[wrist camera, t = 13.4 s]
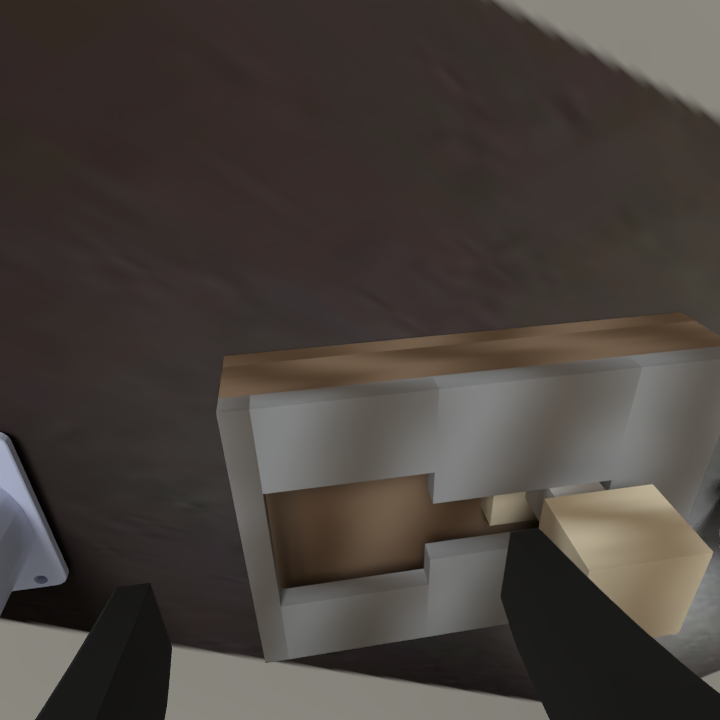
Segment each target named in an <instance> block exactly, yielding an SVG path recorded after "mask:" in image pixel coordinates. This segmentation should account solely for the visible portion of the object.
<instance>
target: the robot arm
mask: <svg viewBox="0 0 720 720" xmlns="http://www.w3.org/2000/svg"><path fill="white" fill-rule="evenodd" d="M68 574H69V570H68V567H67V565H66V563H65V561H64V558H63V556H62V554H61V552H60V549H59V547H58V545H57V543H56V540H55V538H54V536H53V534H52V531H51V529H50V527H49V525H48V522H47V520H46V518H45V516H44V513H43V511H42V509H41V507H40V504H39V502H38V500H37V498H36V495H35V493H34V491H33V489H32V486H31V484H30V482H29V480H28V477H27V475H26V473H25V471H24V468H23V466H22V464H21V462H20V459H19V457H18V455H17V453H16V450H15V448H14V446H13V444H12V441H11V440H10V438H9V437H8V436H7V435H5V434H4V433H1V432H0V615H1V613H2V611H3V609H4V607H5V605H6V602H7V600H8V598H9V596H10V594H11V592H12V591H18V590H25V589H32V588H39V587H46V586H54V585H59V584H62V583H63V582H65V581H66V579H67V576H68ZM500 597H501V600H502V603H503V607H504V610H505V613H506V616H507V619H508V622H509V625H510V628H511V631H512V634H513V637H514V640H515V643H516V646H517V648H518V651H519V653H520V655H521V657H522V660H523V662H524V664H525V666H526V669H527V671H528V673H529V675H530V677H531V680H532V682H533V684H534V686H535V689H536V691H537V693H538V695H539V697H540V699H541V702H542V704H543V706H544V708H545V710H546V713H547V714H548V717H549V719H550V720H720V693H718V692H717V691H716V690H714V689H713V688H712V687H711V686H709V685H708V684H707V683H706V682H704V681H703V680H702V679H701V678H699V677H698V676H697V675H696V674H695V673H693V672H692V671H691V670H690V669H689V668H687V667H686V666H685V665H684V664H682V663H681V662H680V661H679V660H678V659H677V658H675V657H674V656H673V655H672V654H671V653H670V652H668V651H667V650H666V649H665V648H664V647H663V646H662V645H660V644H659V643H658V642H657V641H656V640H655V639H653V638H652V637H651V636H650V635H649V634H648V633H647V632H646V631H645V630H643V629H642V628H641V627H640V626H639V625H638V624H637V623H636V622H635V621H634V620H632V619H631V618H630V617H629V616H628V615H627V614H626V613H625V612H624V611H623V610H622V609H621V608H620V607H618V606H617V605H616V604H615V603H614V602H613V601H612V600H611V599H610V598H609V597H608V596H607V595H606V594H605V593H604V592H603V591H602V590H601V589H599V588H598V587H597V586H596V585H595V584H594V583H593V582H592V581H591V580H590V579H589V578H588V577H587V576H586V575H585V574H584V573H583V572H582V571H581V570H580V569H579V568H578V567H577V566H576V565H575V564H574V563H573V562H572V561H571V560H570V559H569V558H568V557H567V556H566V555H565V554H564V553H563V552H562V551H561V550H560V549H559V548H558V547H557V546H556V545H555V544H554V543H553V542H552V541H551V540H550V539H549V537H548V536H547V535H546V534H545V533H544V532H543V531H541V530H540V529H539V528H536V529H529V530H522V531H515V532H510V538H509V544H508V551H507V557H506V564H505V570H504V576H503V583H502V589H501V596H500ZM171 653H172V646H171V643H170V640H169V637H168V634H167V631H166V628H165V625H164V623H163V620H162V617H161V614H160V611H159V608H158V605H157V602H156V599H155V596H154V593H153V590H152V587H151V584H150V583H146V584H139V585H132V586H125V587H118V588H116V589H115V590H114V591H113V592H112V594H111V596H110V598H109V600H108V601H107V603H106V605H105V607H104V608H103V610H102V612H101V614H100V615H99V617H98V619H97V621H96V622H95V624H94V626H93V628H92V629H91V631H90V633H89V634H88V636H87V638H86V639H85V641H84V643H83V644H82V646H81V648H80V649H79V651H78V653H77V654H76V656H75V658H74V659H73V661H72V663H71V664H70V666H69V668H68V669H67V671H66V672H65V674H64V675H63V677H62V679H61V680H60V682H59V683H58V685H57V687H56V688H55V690H54V691H53V693H52V694H51V696H50V698H49V699H48V701H47V702H46V704H45V706H44V707H43V708H42V710H41V712H40V713H39V715H38V716H37V718H36V719H35V720H164V719H165V713H166V707H167V699H168V689H169V678H170V666H171Z"/></svg>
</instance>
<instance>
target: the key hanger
mask: <svg viewBox="0 0 720 720" xmlns="http://www.w3.org/2000/svg"><path fill="white" fill-rule="evenodd" d="M481 508H482V510H483V512H484V514H485V516H486V518H487V520H488V523H489V525H490V526H492V525H500V524H507V523H514V522H521V521H528V520H536V519H538V521H539V522H540V523H539V529H540V530H541V531H543V532H544V533H545V534H546V535H547V536H548V537H549V539H550V540H551V541H552V542H553V543H554V544H555V545H556V546H557V547H558V548H559V549H560V550H561V551H562V552H563V553H564V554H565V555H566V556H567V557H568V558H569V559H570V560H571V561H572V562H573V563H574V564H575V565H576V566H577V567H578V568H579V569H580V570H581V571H582V572H583V573H584V574H585V575H586V576H587V577H588V578H589V579H590V580H591V581H592V582H593V583H594V584H595V585H596V586H597V587H598V588H599V589H601V590H602V591H603V592H604V593H605V594H606V595H607V596H608V597H609V598H610V599H611V600H612V601H613V602H614V603H615V604H616V605H617V606H618V607H620V608H621V609H622V610H623V611H624V612H625V613H626V614H627V615H628V616H629V617H630V618H631V619H632V620H634V621H635V622H636V623H637V624H638V625H639V626H640V627H641V628H642V629H643V630H645V631H646V632H647V633H648V634H649V635H650V636H651V637H652V638H654V637H660V636H666V635H672V634H678V633H679V631H680V629H681V626H682V624H683V622H684V619H685V617H686V615H687V612H688V610H689V608H690V605H691V603H692V601H693V599H694V596H695V594H696V592H697V589H698V587H699V585H700V582H701V580H702V578H703V576H704V573H705V571H706V569H707V566H708V564H709V562H710V559H711V557H712V555H713V551H712V550H711V549H710V548H709V547H708V545H707V544H706V543H705V542H704V541H703V540H702V539H701V538H700V537H699V535H698V534H697V533H696V532H695V531H694V530H693V529H692V528H691V526H690V525H689V524H688V523H687V522H686V521H685V520H684V519H683V518H682V516H681V515H680V514H679V513H678V512H677V511H676V510H675V509H674V507H673V506H672V505H671V504H670V503H669V502H668V501H667V500H666V499H665V497H664V496H663V495H662V494H661V493H660V492H659V491H658V490H657V488H656V487H655V486H654V485H653V484H650V485H642V486H635V487H628V488H620V489H613V490H605V489H604V487H603V486H602V485H601V484H600V482H594V483H586V484H579V485H571V486H564V487H556V488H549V489H541V490H533V491H526V492H518V493H511V494H503V495H496V496H488V497H481Z"/></svg>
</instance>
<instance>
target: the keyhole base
mask: <svg viewBox="0 0 720 720" xmlns="http://www.w3.org/2000/svg"><path fill="white" fill-rule="evenodd" d="M216 415H217V420H218V425H219V430H220V435H221V440H222V445H223V450H224V455H225V460H226V465H227V471H228V476H229V481H230V486H231V491H232V496H233V501H234V506H235V511H236V516H237V521H238V526H239V531H240V536H241V541H242V546H243V551H244V556H245V561H246V566H247V572H248V577H249V582H250V587H251V592H252V597H253V602H254V607H255V612H256V617H257V622H258V627H259V632H260V637H261V642H262V647H263V652H264V657H265V662H266V663H268V662H274V661H281V660H287V659H293V658H299V657H305V656H312V655H318V654H324V653H330V652H336V651H343V650H349V649H355V648H361V647H367V646H374V645H380V644H386V643H392V642H398V641H405V640H411V639H417V638H423V637H429V636H436V635H442V634H448V633H454V632H460V631H467V630H473V629H479V628H485V627H491V626H498V625H504V624H509V622H508V619H507V616H506V613H505V610H504V607H503V603H502V600H501V597H500V596H501V589H502V583H503V576H504V570H505V564H506V557H507V551H508V544H509V538H510V532H515V531H522V530H529V529H536V528H539V523H540V522H539V521H538V519H536V520H528V521H521V522H514V523H507V524H500V525H492V526H490V525H489V523H488V520H487V518H486V516H485V514H484V512H483V510H482V508H481V497H488V496H496V495H503V494H511V493H518V492H526V491H533V490H541V489H549V488H556V487H564V486H571V485H579V484H586V483H594V482H600V484H601V485H602V486H603V487H604V489H605V490H613V489H620V488H628V487H635V486H642V485H650V484H653V485H654V486H655V487H656V488H657V490H658V491H659V492H660V493H661V494H662V495H663V496H664V497H665V499H666V500H667V501H668V502H669V503H670V504H671V505H672V506H673V507H674V509H675V510H676V511H677V512H678V513H679V514H680V515H681V516H682V518H683V519H684V520H685V521H686V522H687V521H688V518H689V515H690V513H691V510H692V508H693V505H694V502H695V500H696V497H697V495H698V492H699V489H700V487H701V484H702V482H703V479H704V476H705V474H706V471H707V468H708V466H709V463H710V461H711V458H712V455H713V453H714V450H715V448H716V445H717V442H718V440H719V437H720V336H718V335H717V334H715V333H714V332H712V331H710V330H709V329H707V328H706V327H704V326H702V325H701V324H699V323H698V322H696V321H694V320H693V319H691V318H690V317H688V316H686V315H685V314H683V313H682V312H679V313H669V314H658V315H648V316H637V317H627V318H617V319H606V320H596V321H585V322H575V323H564V324H554V325H544V326H533V327H523V328H512V329H502V330H491V331H481V332H471V333H460V334H450V335H439V336H429V337H418V338H408V339H398V340H387V341H377V342H366V343H356V344H345V345H335V346H325V347H314V348H304V349H293V350H283V351H272V352H262V353H252V354H241V355H231V356H224V361H223V368H222V375H221V383H220V390H219V397H218V404H217V411H216Z"/></svg>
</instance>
